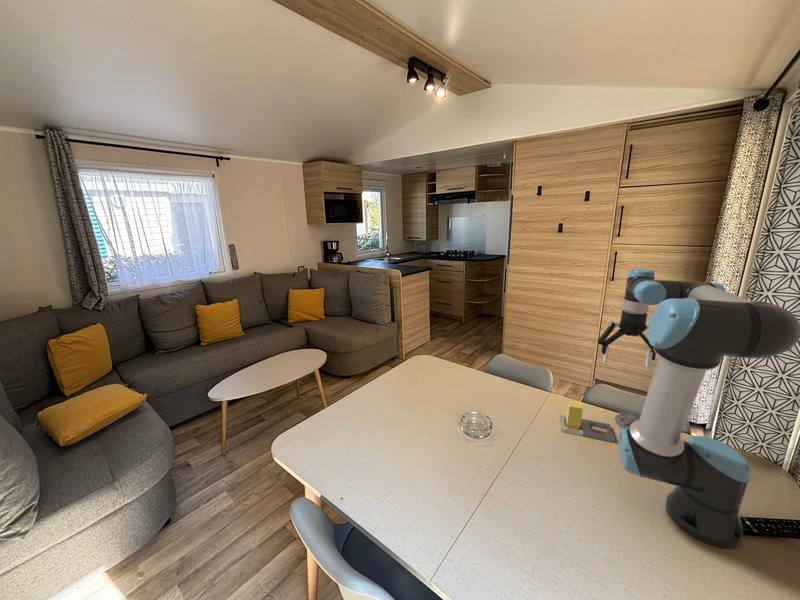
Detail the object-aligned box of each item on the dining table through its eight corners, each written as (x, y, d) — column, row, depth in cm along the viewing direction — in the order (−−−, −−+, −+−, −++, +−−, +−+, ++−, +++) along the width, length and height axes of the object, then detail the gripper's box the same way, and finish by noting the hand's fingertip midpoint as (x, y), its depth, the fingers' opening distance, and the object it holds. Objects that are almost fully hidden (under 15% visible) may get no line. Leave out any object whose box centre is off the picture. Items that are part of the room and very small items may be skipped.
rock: (645, 425, 126) (647, 416, 125) (634, 435, 120) (636, 426, 119) (620, 414, 133) (622, 406, 132) (609, 424, 127) (610, 415, 126)
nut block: (579, 431, 123) (582, 408, 120) (566, 428, 124) (569, 406, 122) (578, 424, 127) (581, 402, 124) (565, 421, 128) (568, 400, 126)
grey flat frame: (614, 442, 116) (615, 439, 116) (560, 431, 123) (561, 428, 122) (609, 426, 125) (609, 424, 125) (559, 416, 132) (559, 414, 131)
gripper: (673, 311, 113) (662, 365, 118) (593, 305, 122) (586, 355, 127) (682, 317, 106) (670, 374, 111) (597, 310, 115) (589, 363, 121)
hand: (625, 364), depth 119 cm, fingers open, 13 cm apart
